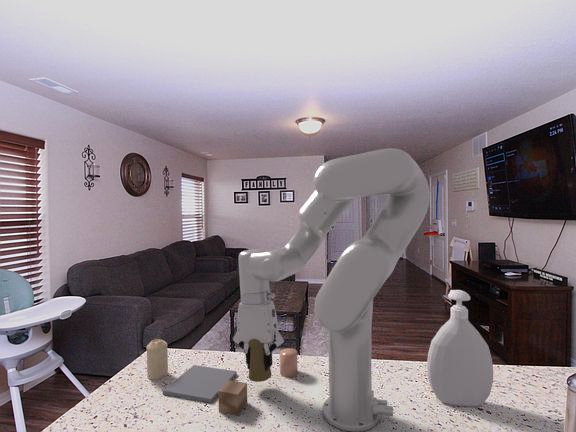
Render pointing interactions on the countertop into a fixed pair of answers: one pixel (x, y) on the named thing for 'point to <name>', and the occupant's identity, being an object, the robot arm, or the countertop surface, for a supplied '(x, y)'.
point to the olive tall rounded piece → (257, 362)
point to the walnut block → (232, 397)
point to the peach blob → (288, 362)
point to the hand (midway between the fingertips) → (259, 366)
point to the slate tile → (200, 383)
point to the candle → (157, 359)
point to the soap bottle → (460, 359)
